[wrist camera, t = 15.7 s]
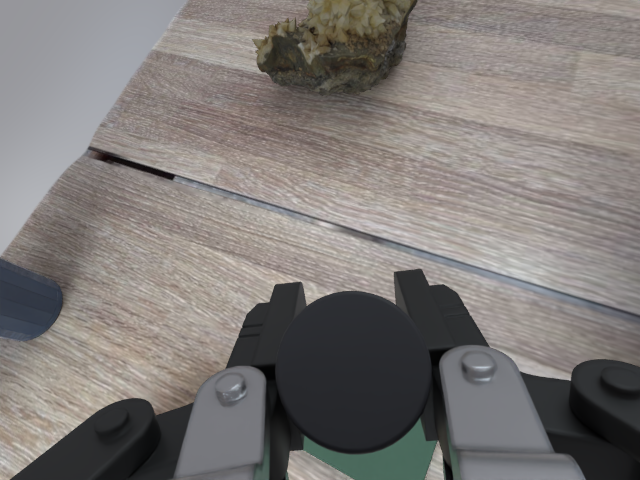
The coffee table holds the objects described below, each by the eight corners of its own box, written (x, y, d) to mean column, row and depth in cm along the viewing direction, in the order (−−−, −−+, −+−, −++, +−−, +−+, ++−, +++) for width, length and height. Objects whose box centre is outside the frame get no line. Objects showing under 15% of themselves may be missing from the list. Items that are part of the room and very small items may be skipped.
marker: (346, 433, 19) (288, 473, 6) (334, 377, 20) (263, 308, 7) (399, 421, 19) (456, 433, 6) (384, 365, 20) (404, 274, 7)
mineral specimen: (331, 3, 45) (321, -99, 36) (434, 37, 41) (452, -69, 32) (257, 89, 41) (225, -2, 32) (363, 135, 37) (360, 46, 28)
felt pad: (412, 510, 25) (413, 512, 24) (276, 433, 28) (274, 433, 27) (458, 375, 28) (459, 374, 27) (330, 317, 31) (329, 315, 30)
